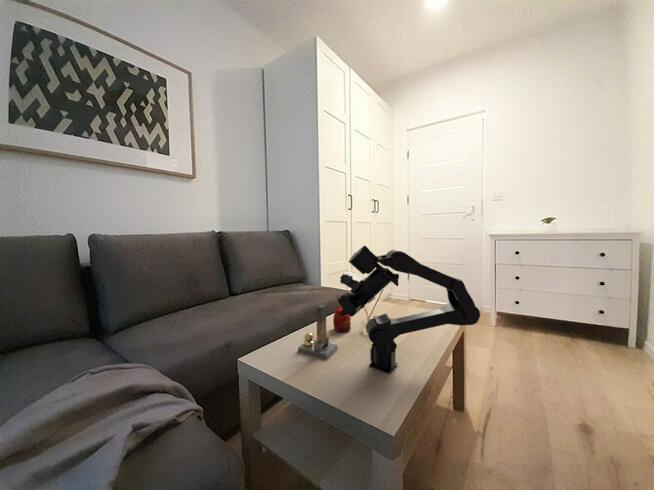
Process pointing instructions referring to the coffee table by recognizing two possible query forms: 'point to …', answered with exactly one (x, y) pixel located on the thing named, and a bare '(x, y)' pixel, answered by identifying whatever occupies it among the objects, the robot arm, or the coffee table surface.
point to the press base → (317, 347)
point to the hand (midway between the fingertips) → (340, 314)
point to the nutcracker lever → (321, 324)
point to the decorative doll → (341, 320)
